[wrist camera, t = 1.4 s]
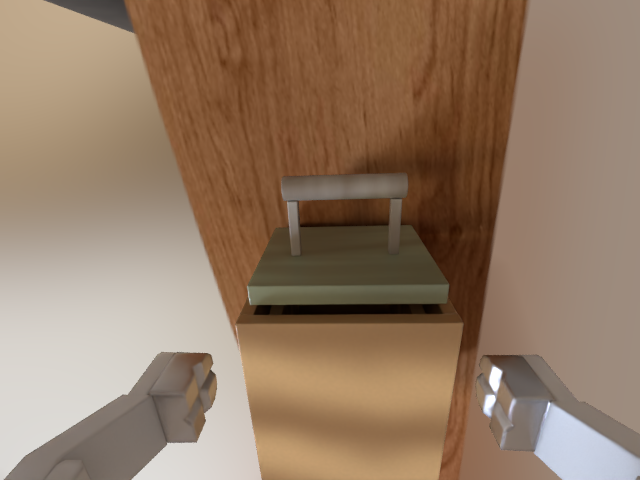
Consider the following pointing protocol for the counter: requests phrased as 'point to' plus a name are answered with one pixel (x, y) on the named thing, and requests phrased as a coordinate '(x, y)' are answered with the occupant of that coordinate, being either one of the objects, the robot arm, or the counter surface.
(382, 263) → the drawer
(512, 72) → the counter surface
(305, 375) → the cabinet
